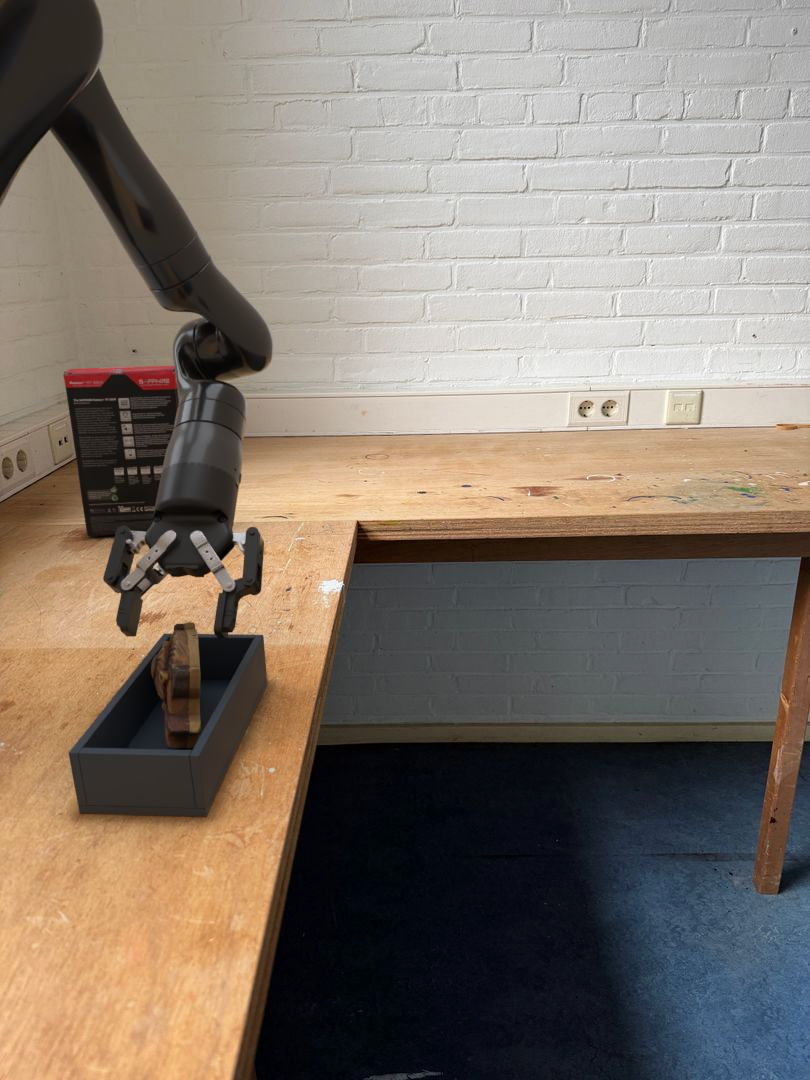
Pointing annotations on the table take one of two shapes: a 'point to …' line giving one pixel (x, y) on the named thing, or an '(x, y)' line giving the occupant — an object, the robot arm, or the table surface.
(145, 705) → the bin
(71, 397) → the graphics card box
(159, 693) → the wooden carving
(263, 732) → the table surface
